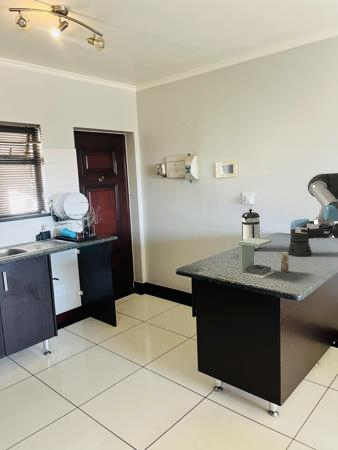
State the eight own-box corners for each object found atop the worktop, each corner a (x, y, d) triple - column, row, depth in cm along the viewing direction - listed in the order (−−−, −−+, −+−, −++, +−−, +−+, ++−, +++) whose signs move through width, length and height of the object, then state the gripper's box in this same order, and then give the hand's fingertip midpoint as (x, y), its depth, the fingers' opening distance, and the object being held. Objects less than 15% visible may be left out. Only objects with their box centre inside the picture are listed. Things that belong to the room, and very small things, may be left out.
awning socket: (274, 272, 194) (274, 240, 192) (262, 278, 185) (262, 244, 183) (251, 268, 205) (251, 237, 202) (239, 273, 196) (238, 241, 193)
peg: (288, 271, 196) (288, 252, 194) (288, 273, 192) (288, 253, 190) (280, 270, 197) (280, 252, 195) (281, 272, 193) (281, 253, 191)
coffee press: (265, 251, 245) (265, 209, 240) (242, 252, 245) (242, 210, 240) (259, 245, 262) (259, 206, 257) (238, 246, 262) (237, 207, 257)
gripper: (333, 243, 161) (290, 238, 176) (352, 234, 178) (311, 231, 193) (334, 227, 159) (290, 224, 174) (352, 220, 177) (311, 218, 192)
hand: (301, 227), depth 184 cm, fingers open, 13 cm apart
